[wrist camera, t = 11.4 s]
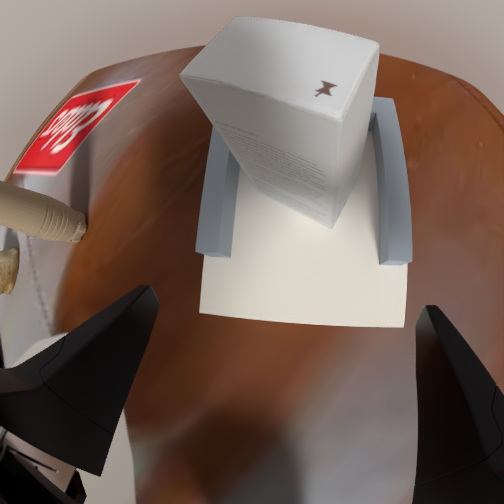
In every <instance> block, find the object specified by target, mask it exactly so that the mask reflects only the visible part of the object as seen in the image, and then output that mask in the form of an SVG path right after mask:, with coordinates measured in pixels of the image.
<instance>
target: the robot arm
mask: <svg viewBox="0 0 504 504" xmlns="http://www.w3.org/2000/svg"><path fill="white" fill-rule="evenodd" d="M158 310H159V301H158V299H157V296H156V294H155V292H154V290H153V288H152V287H151V286H149V285H139V286H138V287H136V288H135V289H133V290H132V291H130V292H129V293H127V294H126V295H124V296H123V297H121V298H120V299H118V300H116V301H115V302H113V303H112V304H110V305H109V306H107V307H106V308H105V309H103V310H102V311H100V312H99V313H97V314H96V315H94V316H93V317H91V318H90V319H88V320H87V321H85V322H84V323H82V324H81V325H80V326H78V327H77V328H75V329H74V330H72V331H71V332H69V333H68V334H67V335H66V336H64V337H62V338H61V339H59V340H58V341H57V342H55V343H54V344H52V345H51V346H49V347H48V348H46V349H44V350H43V351H41V352H40V353H38V354H36V355H35V356H33V357H32V358H30V359H28V360H26V361H25V362H23V363H22V364H20V365H18V366H16V367H13V368H7V369H4V368H0V504H84V501H85V499H86V497H87V496H86V493H85V490H84V487H83V484H82V481H81V478H80V474H79V472H78V471H77V470H76V468H79V469H81V470H84V471H86V472H88V473H91V474H94V475H97V476H99V477H100V476H101V474H102V471H103V468H104V464H105V461H106V458H107V455H108V452H109V448H110V445H111V442H112V439H113V436H114V433H115V430H116V427H117V424H118V421H119V418H120V415H121V413H122V410H123V407H124V404H125V402H126V399H127V396H128V393H129V391H130V388H131V385H132V383H133V380H134V378H135V375H136V372H137V370H138V367H139V365H140V362H141V360H142V357H143V355H144V352H145V350H146V347H147V345H148V342H149V339H150V336H151V332H152V329H153V326H154V322H155V319H156V316H157V313H158ZM416 382H417V400H418V449H417V466H416V478H415V486H414V494H413V501H412V504H504V395H503V393H502V392H501V390H500V389H499V387H498V386H496V383H495V381H494V380H493V378H492V377H491V375H490V374H489V372H488V371H487V369H486V368H485V367H484V365H483V364H482V362H481V361H480V360H479V358H478V357H477V355H476V354H475V353H474V351H473V350H472V349H471V347H470V346H469V345H468V343H467V342H466V341H465V339H464V338H463V337H462V336H461V334H460V333H459V332H458V330H457V329H456V328H455V327H454V326H453V324H452V323H451V322H450V321H449V319H448V318H447V317H446V316H445V315H444V313H443V312H442V311H441V310H440V309H439V307H438V306H436V305H425V306H424V307H423V309H422V311H421V314H420V316H419V318H418V320H417V323H416Z"/></svg>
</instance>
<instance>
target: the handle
mask: <svg viewBox="0 0 504 504" xmlns="http://www.w3.org/2000/svg"><path fill="white" fill-rule="evenodd" d="M0 225H3V226H6V227H8V228H11V229H14V230H16V231H19V232H22V233H25V234H28V235H30V236H34V237H37V238H41V239H46V240H52V241H69V242H79V241H80V240H81V238H82V236H83V234H84V233H85V232H86V229H87V226H86V223H85V215H84V214H82V213H81V212H79V211H76V212H75V211H74V210H73V209H72V208H71V207H69V206H67V205H66V204H64V203H62V202H60V201H58V200H56V199H54V198H51V197H49V196H46V195H43V194H40V193H37V192H34V191H30V190H27V189H24V188H20V187H17V186H14V185H11V184H8V183H5V182H2V181H0Z"/></svg>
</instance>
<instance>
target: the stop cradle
mask: <svg viewBox="0 0 504 504" xmlns="http://www.w3.org/2000/svg"><path fill="white" fill-rule="evenodd" d="M195 251H196V252H198V253H201V254H204V264H203V275H202V286H201V298H200V311H199V313H206V314H213V315H221V316H229V317H238V318H246V319H256V320H266V321H277V322H289V323H302V324H317V325H335V326H359V327H404V319H405V306H406V290H407V263H409V262H412V226H411V209H410V197H409V187H408V178H407V170H406V163H405V156H404V150H403V144H402V138H401V133H400V128H399V123H398V118H397V114H396V109H395V105H394V101H393V99H391V98H382V97H373V103H372V110H371V115H370V121H369V126H368V132H367V137H366V142H365V147H364V151H363V156H362V161H361V165H360V169H359V173H358V178H357V181H356V183H355V185H354V187H353V189H352V191H351V193H350V195H349V198H348V200H347V202H346V204H345V206H344V208H343V210H342V212H341V213H340V215H339V217H338V219H337V221H336V223H335V225H334V227H333V228H332V229H329V228H327V227H326V226H324V225H322V224H320V223H318V222H316V221H314V220H312V219H310V218H308V217H306V216H304V215H302V214H300V213H298V212H297V211H294V210H292V209H290V208H288V207H287V206H284V205H282V204H280V203H278V202H276V201H274V200H272V199H270V198H268V197H266V196H264V195H262V194H260V193H258V192H257V191H256V189H255V188H254V186H253V185H252V183H251V181H250V180H249V178H248V177H247V175H246V174H245V172H244V171H243V169H242V168H241V166H240V165H239V163H238V162H237V160H236V159H235V157H234V156H233V154H232V153H231V151H230V150H229V148H228V147H227V145H226V144H225V142H224V141H223V139H222V138H221V136H220V135H219V133H218V132H217V130H216V129H215V127H214V126H213V129H212V135H211V141H210V147H209V153H208V159H207V165H206V172H205V179H204V186H203V193H202V200H201V207H200V215H199V223H198V232H197V240H196V249H195Z"/></svg>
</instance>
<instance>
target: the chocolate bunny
mask: <svg viewBox="0 0 504 504" xmlns="http://www.w3.org/2000/svg"><path fill="white" fill-rule="evenodd" d="M18 268H19V249H18V248H11V249H8V250H3V251H0V294H2V293H5V294H10V293H11V290H13V288H14V285H15V281H16V277H17V273H18Z"/></svg>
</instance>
